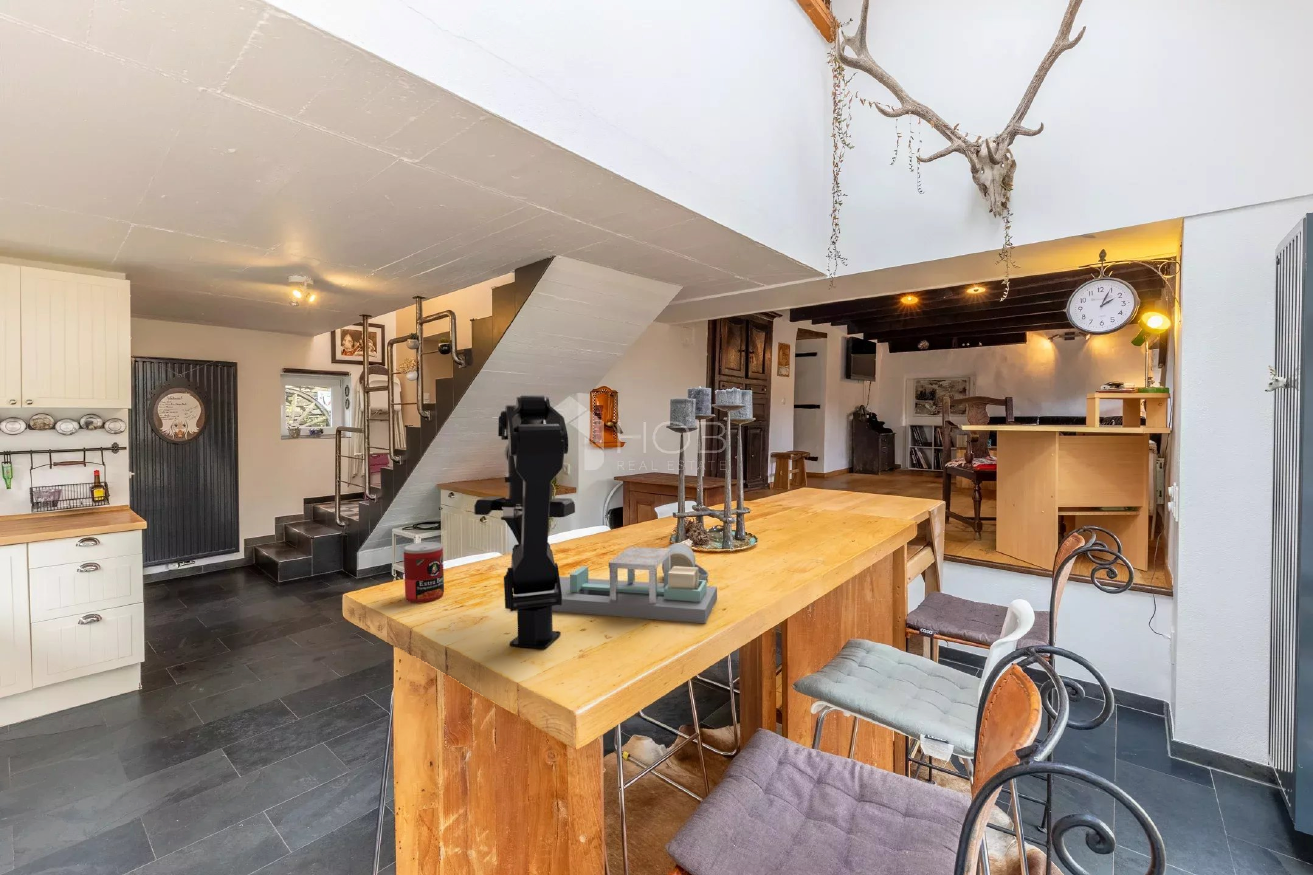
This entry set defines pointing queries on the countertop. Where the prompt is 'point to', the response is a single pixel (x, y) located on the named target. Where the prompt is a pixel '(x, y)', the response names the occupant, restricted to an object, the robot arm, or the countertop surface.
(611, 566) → the grey stone table
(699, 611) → the slate deck
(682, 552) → the ceramic mug
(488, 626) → the countertop surface
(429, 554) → the canned food
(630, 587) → the long teal base
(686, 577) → the beech block
